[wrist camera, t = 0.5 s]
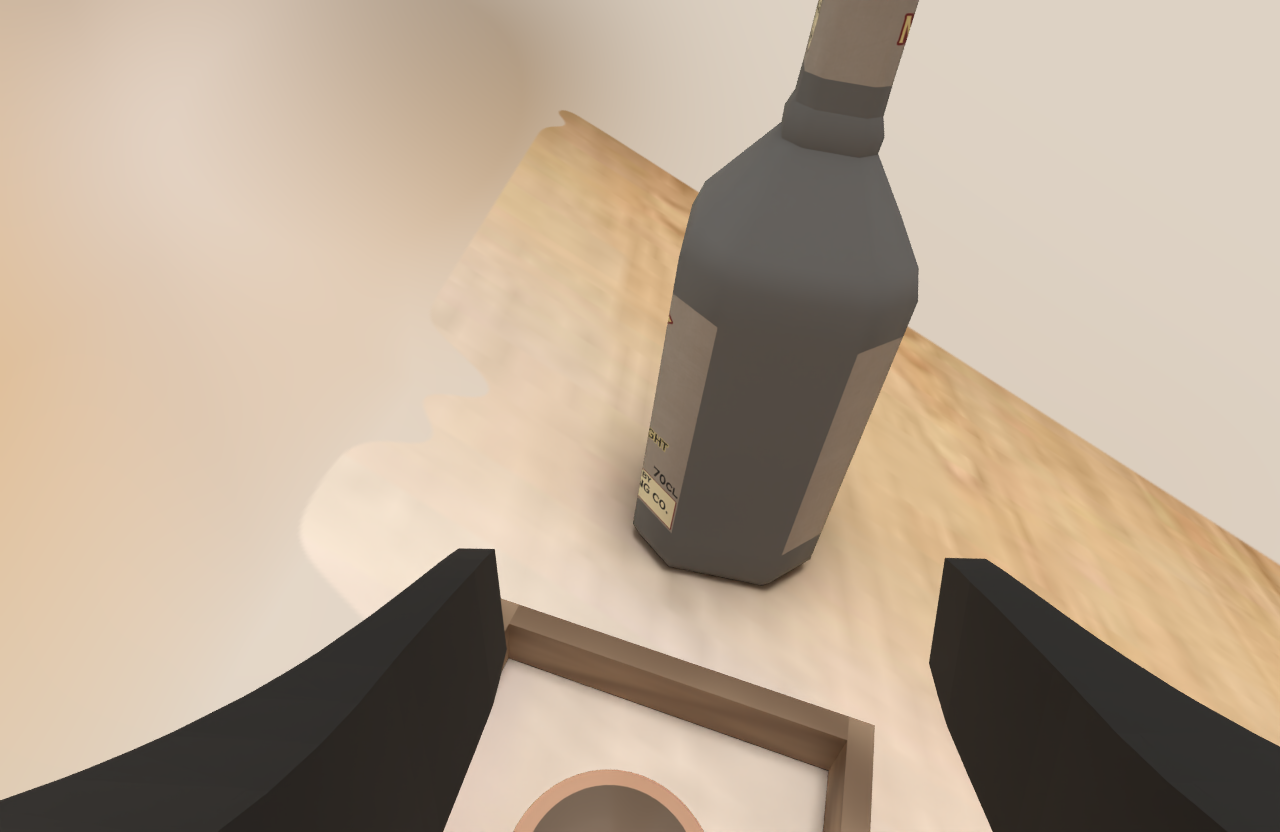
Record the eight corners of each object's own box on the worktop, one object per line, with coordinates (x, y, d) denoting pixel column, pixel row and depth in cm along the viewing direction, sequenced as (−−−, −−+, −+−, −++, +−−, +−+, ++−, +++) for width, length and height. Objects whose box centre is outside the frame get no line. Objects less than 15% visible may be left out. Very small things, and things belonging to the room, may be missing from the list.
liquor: (801, 476, 43) (1039, -173, 24) (805, 601, 36) (1149, -184, 17) (650, 446, 43) (768, -216, 24) (624, 564, 36) (762, -244, 17)
